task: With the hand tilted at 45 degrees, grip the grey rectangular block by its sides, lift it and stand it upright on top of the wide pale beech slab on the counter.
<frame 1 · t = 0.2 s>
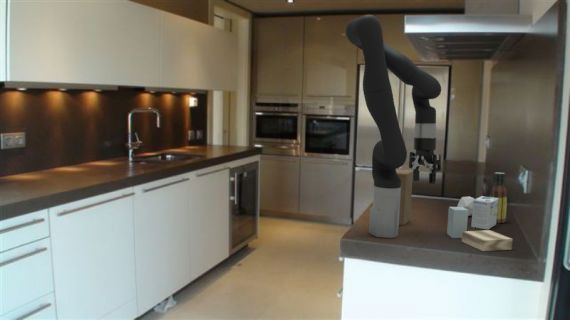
hand: (423, 182, 174), 18 cm above the counter, tool pointing down, fingers open, 8 cm apart
sauce bottle: (496, 222, 197), on the counter
light bulb box: (483, 226, 190), on the counter
wooden block: (394, 222, 193), on the counter
grey rectangular block: (456, 236, 174), on the counter
beech block: (486, 245, 163), on the counter
die: (467, 215, 208), on the counter
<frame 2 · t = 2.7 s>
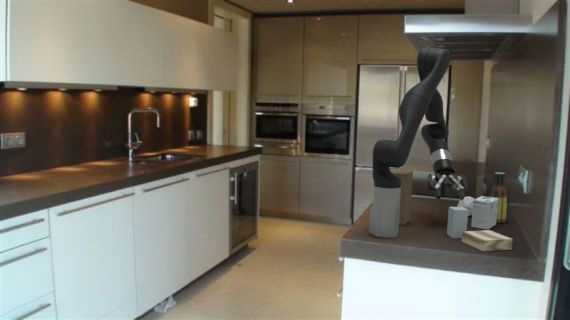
hand: (450, 198, 180), 12 cm above the counter, tool tilted 45°, fingers open, 8 cm apart
nothing on the counter moved.
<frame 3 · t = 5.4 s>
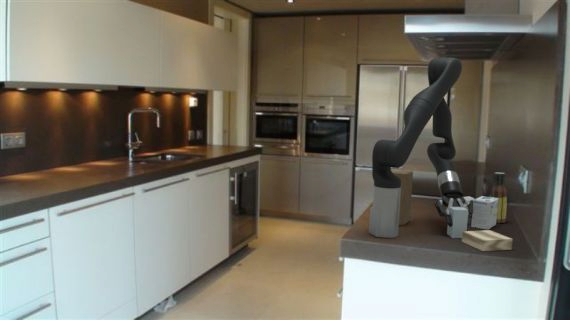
hand: (459, 225, 172), 4 cm above the counter, tool tilted 45°, fingers closed on grey rectangular block, 5 cm apart
grey rectangular block: (456, 236, 174), on the counter, touching gripper
everything else where it was.
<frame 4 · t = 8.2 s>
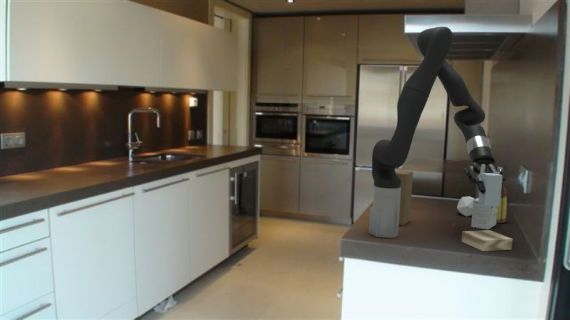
hand: (492, 192, 160), 18 cm above the counter, tool tilted 45°, fingers closed on grey rectangular block, 5 cm apart
grey rectangular block: (488, 204, 162), point 14 cm above the counter, touching gripper
everything else where it was.
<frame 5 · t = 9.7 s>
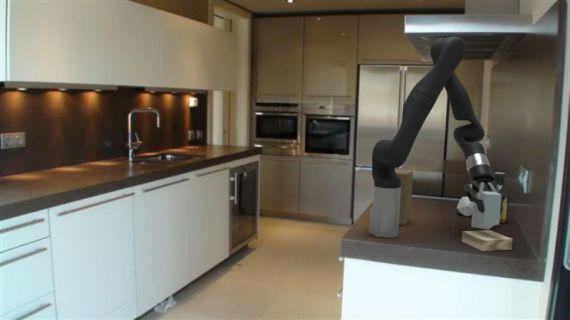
hand: (491, 211, 160), 12 cm above the counter, tool tilted 45°, fingers closed on grey rectangular block, 5 cm apart
grey rectangular block: (488, 222, 162), point 8 cm above the counter, touching gripper
everything else where it was.
when the fingers open (9 cm above the counter, at t = 11.0 s): grey rectangular block stays where it is, resting on beech block.
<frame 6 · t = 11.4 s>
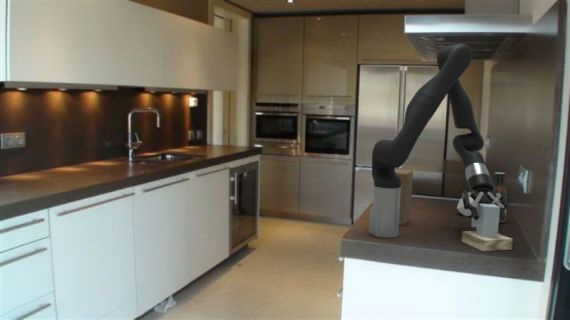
hand: (490, 219, 161), 9 cm above the counter, tool tilted 45°, fingers open, 8 cm apart
grey rectangular block: (486, 234, 163), point 3 cm above the counter, touching beech block
everything else where it was.
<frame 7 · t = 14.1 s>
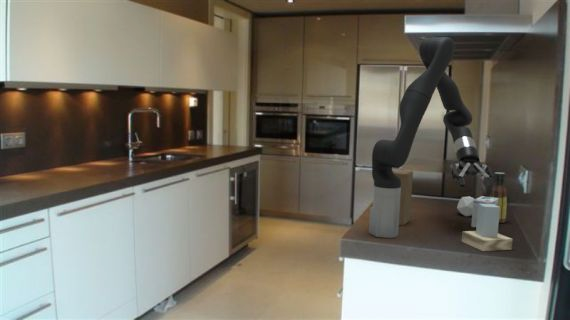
hand: (475, 187, 173), 17 cm above the counter, tool tilted 45°, fingers open, 8 cm apart
nothing on the counter moved.
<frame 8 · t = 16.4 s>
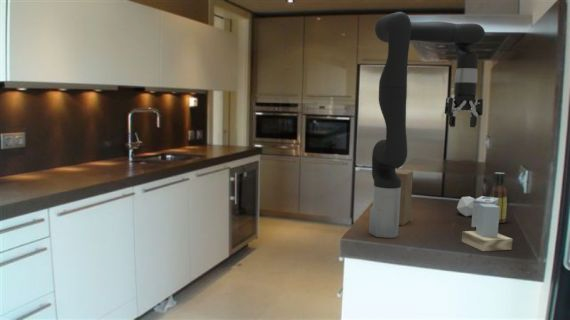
hand: (462, 127, 178), 38 cm above the counter, tool pointing down, fingers open, 8 cm apart
nothing on the counter moved.
at the end: grey rectangular block inside the target area on the beech block (0.2 cm from its centre), point 3.5 cm above the beech block's base; grey rectangular block tilted 0°; the gripper is holding nothing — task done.
